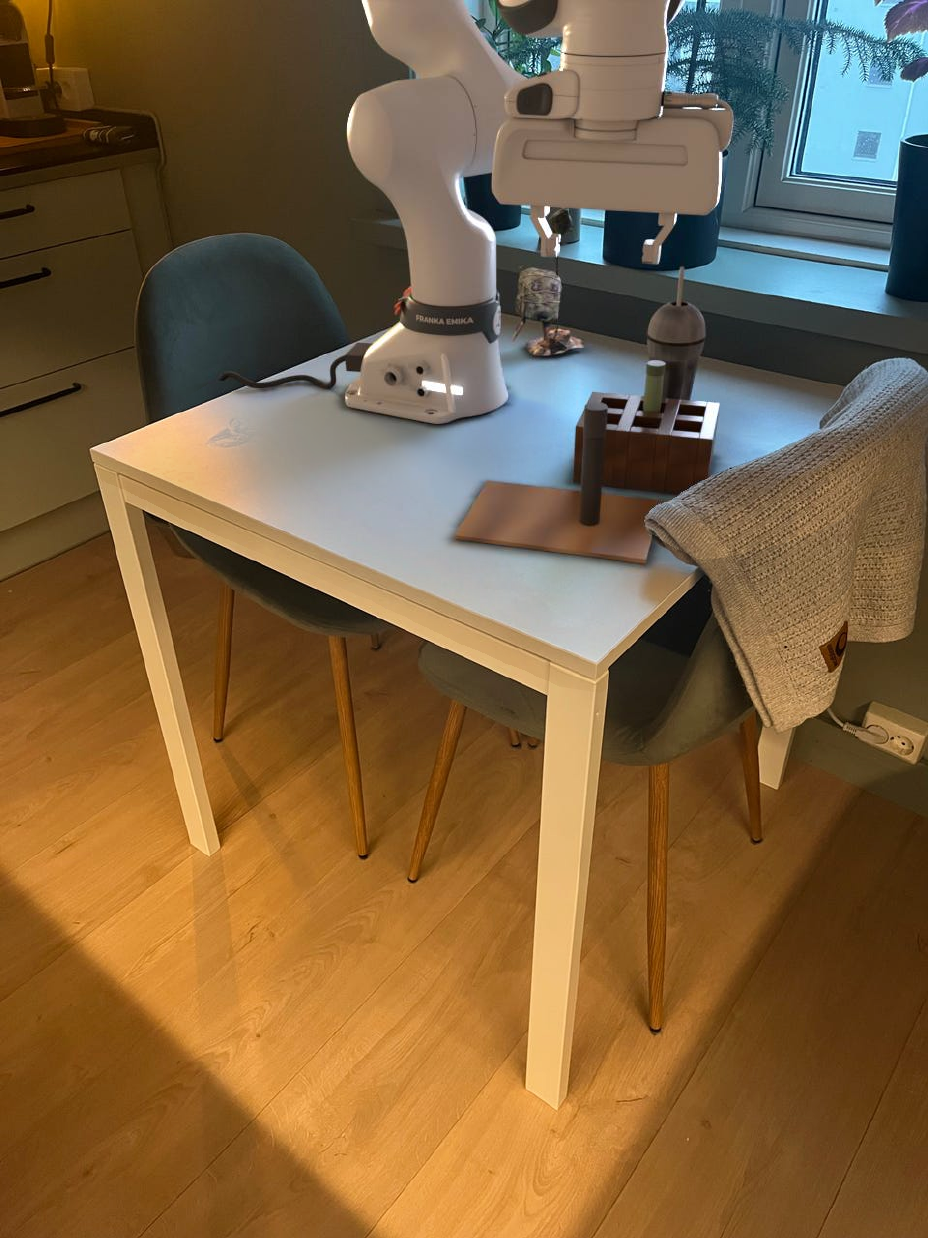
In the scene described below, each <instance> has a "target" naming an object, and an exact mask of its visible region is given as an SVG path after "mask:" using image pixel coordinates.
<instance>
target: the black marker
mask: <svg viewBox="0 0 928 1238" xmlns="http://www.w3.org/2000/svg"><path fill="white" fill-rule="evenodd" d="M583 410H584V425H583V454H582V473H581V483H580V490H579V491H580V510H579V522H580V523H581V524H583V525H586V526H594V525H597V524H598V523H599V522H600V509H601V494H603V486H602V479H603V464H604V449H605V435H606V427H607V412H608V406H607V405H606V404H604V403H600V402H591V403H586V404H585V405H584V408H583Z"/></svg>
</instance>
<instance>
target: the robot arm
mask: <svg viewBox="0 0 928 1238" xmlns="http://www.w3.org/2000/svg"><path fill="white" fill-rule="evenodd" d="M361 2H362V5H363V9H364V12H365V15H366V19H367V23H368V26H369V29H370V32H371V35H372V37H373V39H374V40H375V42H376V43H377V45H378V46H379V47H380V48H381V49H382V51H384V52H385V53H387V54H388V55H390V56H391V57H393V58H394V59H397V60H399V61H400V62H402V63H404V64H405V65H406V66H407V67H408V68H409V69H411V70H412V71H413V72H414V73H415V74H416V76H417V77H418V78H409V79H399V80H398V79H397V80H393V81H391V82H389V83H384V84H383V85H380V86H378V87H375V88H372V89H370V90H368V91H366V92H363V93H361V94H359V95H358V96H357V98H356V99H355V101H354V103H353V105H352V107H351V109H350V112H349V115H348V119H347V125H346V139H347V146H348V150H349V153H350V156H351V158H352V161H353V162H354V165H355V166H356V169H358V171H359V173H361V174H362V176H363V178H365V179H366V180H367V181H369V182H370V183H371V184H372V185H375V187H377V188H378V189H379V190H380V191H381V192H383V194H384V195H385V196H386V197H387V199H388V200H389V201H390V203H391V204H392V205H393V208H394V209H395V211H396V213H397V215H398V217H399V220H400V222H401V223H402V224H401V225H402V227H403V231H404V235H405V240H406V246H407V254H408V255H407V257H408V266H409V276H410V286H409V287H408V288H407V289H405V291H404V292H403V296H401V297H400V298H398V300H397V301H398V302H397V303H396V304H395V305H394V309H395V311H394V315H395V316H397V315H398V318H399V321H397V323H396V324H394V325H393V326H392V327H391V328H389V329H388V330H387V331H386V332H385V333H384V334H382V335H381V336H380V337H379V338H378V339H376V340H375V341H374V342H359V341H358V342H356V343H355V344H354V345H353V346H352V347H351V348H350V349H349V350H348V351H347V352H346V353H345V354H343V355H341V356H339V357H337V358H335V360H333V362H332V363H331V364H330V366H329V367H330V368H329V377H330V380H329V382H327V383H326V382H324V381H322V380H319V379H318V378H317V377H313V376H312V375H307V374H295V375H288V376H284V377H282V378H278V379H274V380H270V381H263V382H255V381H251V380H249V379H247V378H245V377H244V376H242V375H241V374H239V373H237V372H234V371H230V370H228V371H226V372H223V373H222V374H221V375H220V376H219V377H218V379H217V381H219V382H224V381H226V380H227V379H229V378H232V379H234V380H235V381H237V382H239V383H240V384H242V385H243V386H246V387H249V388H251V389H270V388H275V387H277V386H278V387H279V386H281V385H284V384H289V383H293V382H302V381H303V382H308V383H311V384H314V385H315V386H317V387H319V388H323V389H327V390H331V389H332V388H334V387H335V385H337V368H338V367H339V365H341V364H342V363H344V362H345V371H346V372H350V373H351V372H352V373H360V374H359V376H358V377H356V378H355V379H354V380H353V381H352V382H351V383H350V384H349V385H348V387H347V388H346V391H345V393H344V394H345V395H344V402H345V405H346V406H347V407H348V408H351V409H356V410H361V411H367V412H372V413H377V414H383V415H387V416H393V417H397V418H402V419H408V420H414V421H419V422H424V423H429V424H435V425H442V424H447V423H451V422H452V421H455V420H457V419H458V420H459V419H461V418H467V417H474V416H479V415H483V414H486V413H489V412H493V411H494V410H497V409H499V408H500V407H502V406H503V405H505V404H506V402H507V401H508V399H509V397H510V396H509V391H508V389H507V385H506V382H505V381H506V380H505V378H504V373H503V368H502V361H501V355H500V346H499V345H500V344H499V337H500V332H501V323H502V321H501V315H502V313H501V311H502V309H501V305H500V293H499V291H498V290H497V238H496V234H495V231H494V229H493V227H492V225H491V224H490V223H489V222H488V220H486V219H485V218H484V217H483V216H481V215H480V214H478V213H477V212H475V211H473V210H470V209H469V208H466V206H465V204H464V201H463V198H462V192H461V187H460V186H461V185H460V184H461V183H460V181H461V179H462V178H468V177H475V176H479V175H487V174H491V192H492V195H493V196H494V198H495V199H496V200H497V202H498V203H499V204H500V205H507V206H508V205H509V206H510V205H512V206H527V207H529V219H530V221H531V223H532V226H533V227H534V229H535V231H536V233H537V235H538V237H539V239H540V256H541V257H542V258H556V257H557V256H558V257H559V255H560V251H561V250H560V249H561V246H560V242H561V236H560V234H553V231H552V230H551V226H550V225H549V223H548V221H547V219H546V217H547V216H548V215H549V214H550V208H566V209H580V210H581V209H582V210H599V211H619V212H637V213H639V212H640V213H656V214H658V220H657V221H658V222H657V224H658V226H660V227H662V226H663V227H662V228H661V229H660V231H659V232H658V233H657V235H656V237H655V238H654V239H645V240H644V242H643V246H642V256H641V264H644V265H645V264H647V265H659V263H660V261H661V260H660V259H661V254H662V253H661V252H662V244H663V243H664V242H665V240H666V239H667V237H668V236H669V234H670V233H671V231H672V230H673V228H674V227H675V225H676V222H677V219H678V218H677V217H678V215H688V216H689V215H692V216H707V215H709V214H710V213H711V212H712V211H713V210H715V208H716V207H717V206H718V204H719V202H720V196H721V190H722V189H721V187H722V172H723V152H724V151H725V150H727V147H728V146H729V145H730V142H731V139H732V135H733V134H732V133H733V127H734V120H735V119H734V111H733V109H732V107H731V106H730V104H728V103H727V102H726V101H725V100H723V99H720V98H719V94H717V93H716V94H715V93H709V92H707V93H705V92H703V93H701V94H693V93H687V92H675V91H674V92H673V91H665V86H666V85H665V84H666V83H665V82H666V74H667V63H668V52H669V51H668V50H669V40H668V34H667V27H668V25H670V23H671V22H672V21H674V19H675V18H676V16H677V15H678V13H679V12H680V11H681V10H682V7H683V6H684V4H685V2H686V0H494V2H495V5H496V7H497V9H498V12H499V14H500V15H501V17H502V18H503V20H504V22H505V23H506V24H507V25H508V26H509V28H510V29H511V30H513V32H514V33H516V34H517V35H519V36H524V37H525V36H526V37H528V38H531V39H532V38H533V39H552V38H553V39H554V38H562V43H561V47H560V60H559V66H558V68H556V69H554V70H552V69H548V70H544V71H542V72H540V73H539V74H537V75H535V76H533V77H530V78H528V77H526V76H524V75H523V74H521V73H520V72H518V71H517V70H516V69H514V68H513V67H511V66H510V65H509V64H508V63H507V62H506V61H505V60H504V59H503V58H502V57H501V56H500V55H499V54H498V53H497V52H496V50H495V49H494V48H493V47H492V45H491V44H490V43H489V42H488V40H487V38H486V37H485V36H484V35H483V33H482V31H481V30H480V29H479V27H478V26H477V24H476V22H475V20H474V18H473V17H472V15H471V13H470V11H469V9H468V7H467V4H466V2H465V0H361ZM717 106H720V107H721V108H717Z"/></svg>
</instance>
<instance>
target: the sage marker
mask: <svg viewBox="0 0 928 1238" xmlns="http://www.w3.org/2000/svg"><path fill="white" fill-rule="evenodd" d="M665 365H666V364H665V362H663V361H660V360H651V361H649V360H648V361H646V366H645V383H644V393H643V396H644V403H643V411H645V412H656V413H660V409H661V400H662V390H663V380H664V374H665Z"/></svg>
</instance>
